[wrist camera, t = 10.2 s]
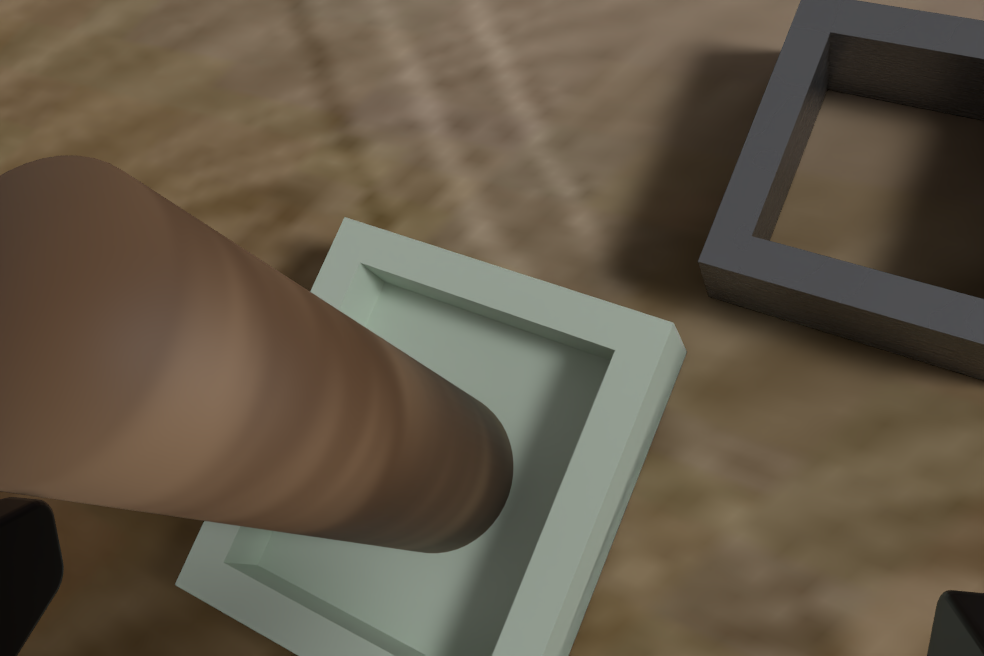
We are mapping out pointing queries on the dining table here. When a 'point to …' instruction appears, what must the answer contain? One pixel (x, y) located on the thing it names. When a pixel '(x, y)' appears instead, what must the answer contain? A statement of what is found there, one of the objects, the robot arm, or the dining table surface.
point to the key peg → (216, 380)
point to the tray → (536, 465)
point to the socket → (777, 153)
